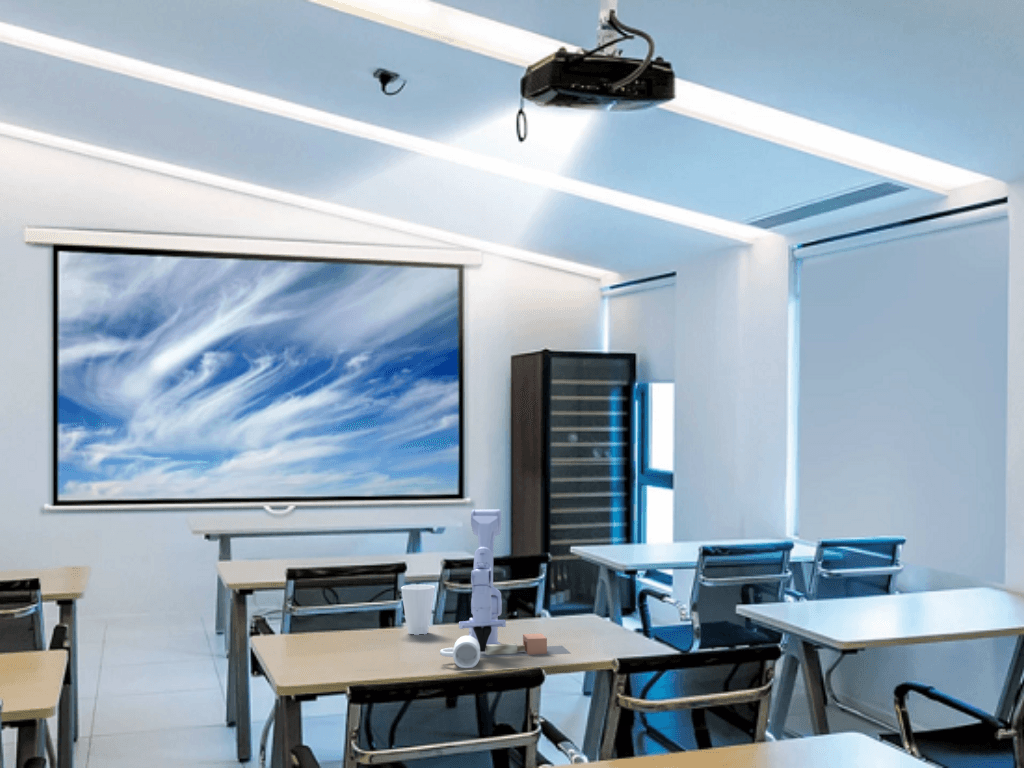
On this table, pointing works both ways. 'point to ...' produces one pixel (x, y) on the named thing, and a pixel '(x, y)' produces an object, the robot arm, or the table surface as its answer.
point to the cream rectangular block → (504, 648)
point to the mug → (464, 652)
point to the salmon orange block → (535, 643)
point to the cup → (418, 607)
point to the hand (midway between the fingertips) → (482, 650)
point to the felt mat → (524, 653)
